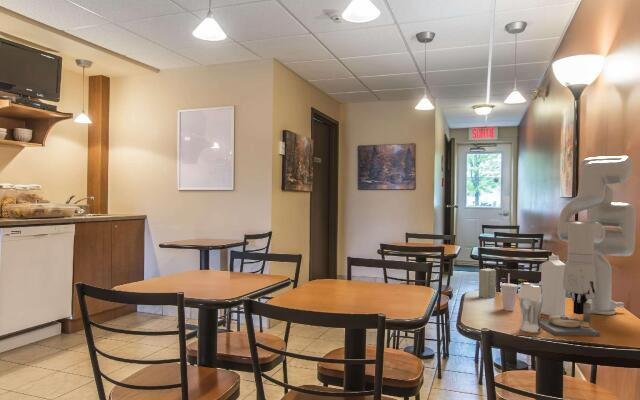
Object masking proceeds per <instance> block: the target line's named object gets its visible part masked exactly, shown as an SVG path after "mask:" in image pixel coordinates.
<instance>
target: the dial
mask: <svg viewBox="0 0 640 400" xmlns="http://www.w3.org/2000/svg"><path fill="white" fill-rule="evenodd" d="M591 314H592V313H591V304H590V303H584V306H583V314H582V315H583V317H582V319H583V320H582V319H578V318H576V317H573V316H567V315H563V316H560V315H553V316H550V315H548V318H549V323H551V324H553V325H557V326H562V327H579V326H584V327H590V323H591Z"/></svg>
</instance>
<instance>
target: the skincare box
mask: <svg viewBox="0 0 640 400" xmlns="http://www.w3.org/2000/svg"><path fill="white" fill-rule="evenodd" d="M478 271H479V272H478V297H479V298H484V299H490V298H495V297H496V291H497V290H496V288H497V287H496V283H497V279H496V278H497V277H496V276H497V270H496V269H493V268H489V267H487V268H481V269H479V270H478Z"/></svg>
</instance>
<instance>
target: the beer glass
mask: <svg viewBox="0 0 640 400" xmlns="http://www.w3.org/2000/svg"><path fill="white" fill-rule="evenodd" d="M519 285H520V286H519V295H518V296H519V297H518V299H519V300H518V301H519V306H520V308H519V309H520V313H521V324H520V330H521V331H522V332H523V333H530V334H540V333H541V332H542V329H541V328H542V327H540V318H541V314H542V313H541V310H542V304H543V290H542V285H541V283H533V282H521V283H520V284H519Z"/></svg>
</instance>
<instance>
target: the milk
mask: <svg viewBox="0 0 640 400" xmlns="http://www.w3.org/2000/svg"><path fill="white" fill-rule="evenodd" d="M559 257H560V256H559V255H558V254H557V255H549V256H548V260H546V261H544V262H541V271H540V272H541V275H540V278H541V280H540V281H541V282H540V285H542V290H543V304H542V310H541V314H543V315H545V316H546V315H547V316H553V315H560V316H566V293H567V291H566V290H564V288H563V277H564V269H565V264H566V263H564V262H563V261H561V260H560V258H559Z"/></svg>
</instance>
